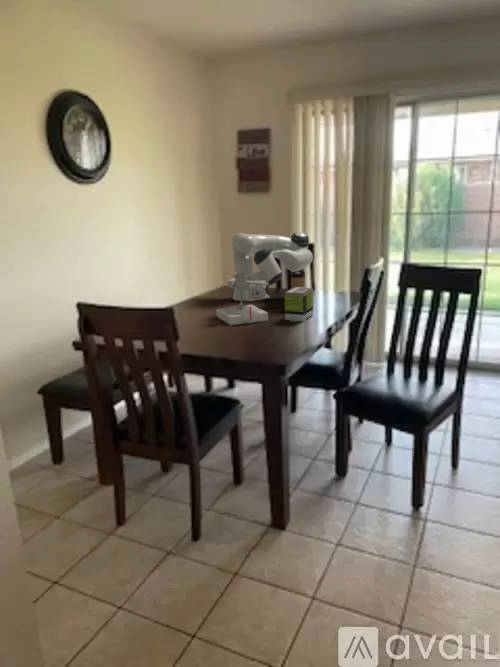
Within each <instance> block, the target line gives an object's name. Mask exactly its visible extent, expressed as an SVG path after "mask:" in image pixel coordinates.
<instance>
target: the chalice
mask: <svg viewBox="0 0 500 667" xmlns="http://www.w3.org/2000/svg"><path fill="white" fill-rule="evenodd" d="M233 275H234V276H235V285H236V287H237V289H238V291H239V292H240V301H239V302H240V303H238V305H237V306H238V307H237V310H242V309H243V308H244V307H245V304H244V303H243V301H242V300H243V299H242V296H243V295H242V292H243V291H244V289H245V287H246V284H247V273H245V272H238V273H235V272H234V273H233Z"/></svg>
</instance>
